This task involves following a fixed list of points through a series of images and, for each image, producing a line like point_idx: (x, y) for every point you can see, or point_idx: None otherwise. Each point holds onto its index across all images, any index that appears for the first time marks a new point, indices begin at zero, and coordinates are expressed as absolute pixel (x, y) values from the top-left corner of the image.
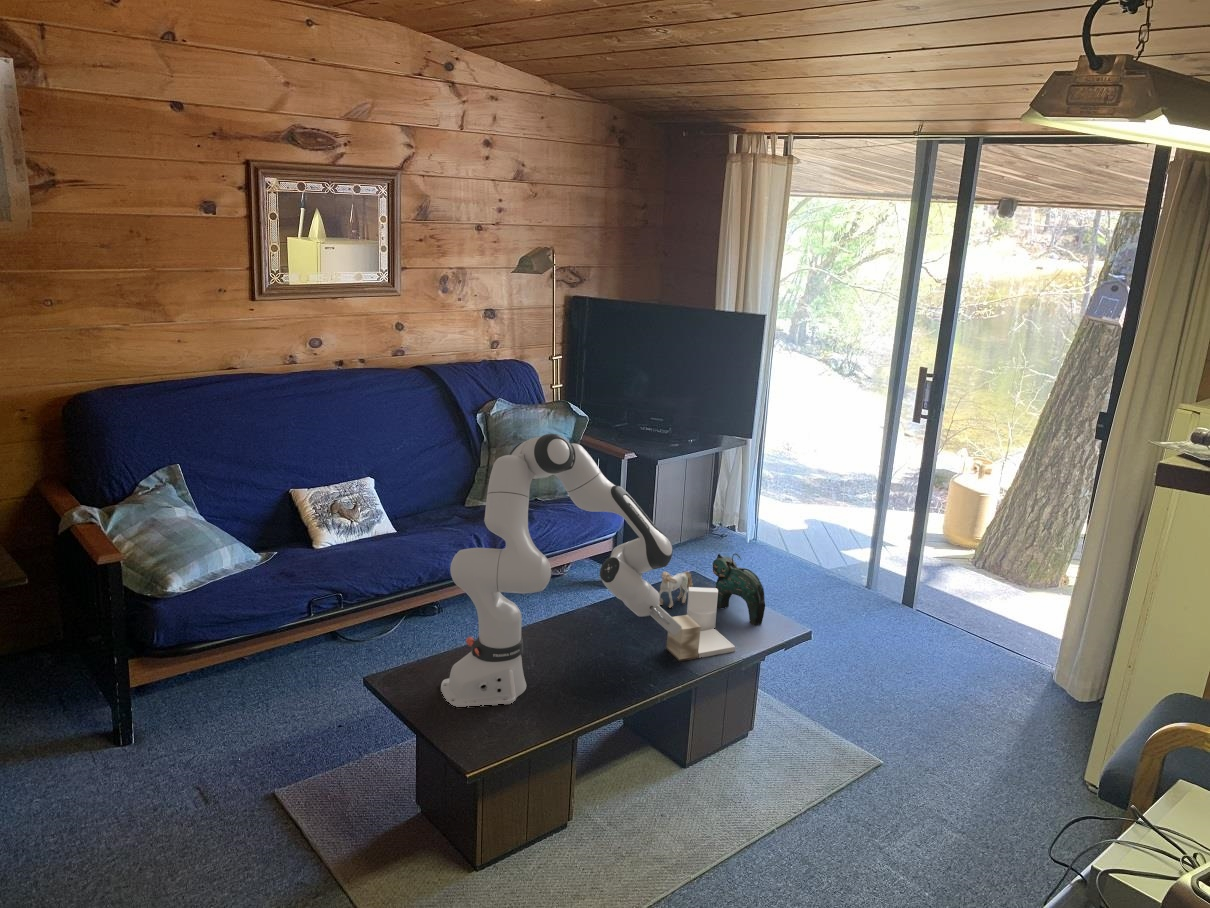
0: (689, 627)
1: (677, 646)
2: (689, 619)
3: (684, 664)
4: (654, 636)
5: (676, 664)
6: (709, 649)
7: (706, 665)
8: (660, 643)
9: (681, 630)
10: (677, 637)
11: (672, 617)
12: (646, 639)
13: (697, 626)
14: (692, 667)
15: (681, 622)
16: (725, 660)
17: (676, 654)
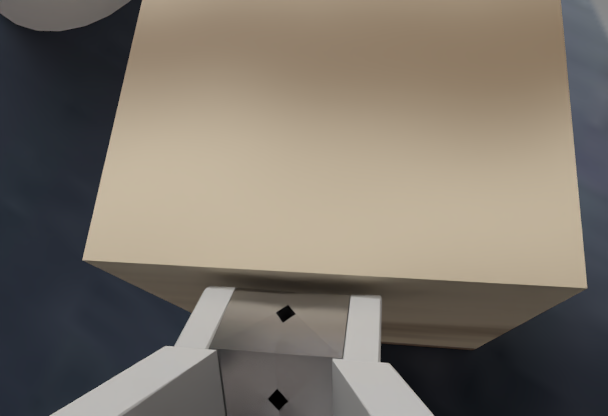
0: (543, 130)
1: (427, 331)
2: (283, 11)
3: (532, 332)
4: (21, 310)
5: (510, 401)
6: None
7: (602, 172)
8: (135, 327)
9: (551, 292)
10: (415, 314)
11: (113, 210)
12: (23, 402)
13: (536, 4)
14: (603, 296)
15: (326, 163)
16: (567, 14)
17: (416, 342)
